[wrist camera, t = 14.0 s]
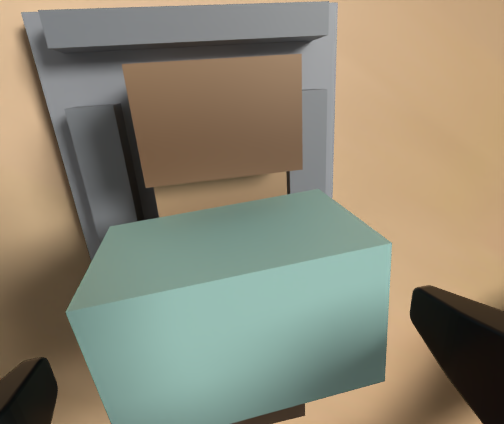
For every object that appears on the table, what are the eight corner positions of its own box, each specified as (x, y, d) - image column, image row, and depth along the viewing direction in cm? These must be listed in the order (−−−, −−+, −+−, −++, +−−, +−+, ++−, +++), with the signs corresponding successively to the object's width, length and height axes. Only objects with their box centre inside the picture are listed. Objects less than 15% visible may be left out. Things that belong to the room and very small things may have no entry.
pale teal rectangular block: (318, 188, 11) (391, 242, 7) (322, 291, 12) (384, 381, 8) (110, 226, 10) (65, 312, 6) (142, 332, 11) (123, 453, 7)
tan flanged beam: (146, 74, 12) (121, 64, 7) (253, 67, 13) (301, 53, 8) (190, 333, 16) (195, 442, 11) (268, 318, 17) (304, 415, 12)
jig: (33, 18, 12) (-4, 1, 9) (326, 8, 13) (357, -8, 11) (127, 362, 17) (118, 403, 15) (321, 323, 19) (340, 355, 17)
